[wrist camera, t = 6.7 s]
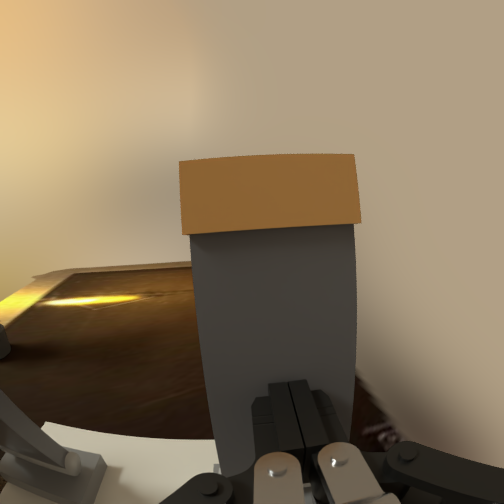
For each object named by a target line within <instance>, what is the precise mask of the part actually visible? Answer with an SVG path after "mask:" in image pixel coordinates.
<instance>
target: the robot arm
mask: <svg viewBox="0 0 504 504" xmlns="http://www.w3.org/2000/svg"><path fill="white" fill-rule="evenodd" d="M251 412H252V423H253V435H254V446H255V460H254V462H253V464H252V466H251V467H250V468H249V469H247V470H246V471H244V472H242V473H240V474H237V475H234V476H231V477H227V478H226V477H225V476H223V475H221V474H218V473H212V472H207V473H201V474H198V475H196V476H194V477H192V478H191V479H190V480H188V481H187V482H186V483H185V484H183V485H182V486H181V487H180V488H178V489H177V490H176V491H175V492H173V493H172V494H171V495H169V496H168V497H167V498H165V499H164V500H163V501H161V502H160V503H159V504H305V499H304V490H303V484H306V483H310V484H311V488H312V495H311V499H312V503H313V504H504V469H503V468H498V467H494V466H490V465H486V464H482V463H478V462H475V461H471V460H468V459H464V458H461V457H457V456H454V455H451V454H448V453H445V452H442V451H439V450H436V449H432V448H430V447H427V446H424V445H421V444H418V443H416V442H411V441H403V442H399V443H396V444H395V445H393V446H392V447H391V448H390V449H389V450H388V452H363V451H360V450H359V449H358V448H357V447H355V446H354V445H352V444H350V443H349V441H348V439H347V437H346V434H345V432H344V430H343V427H342V425H341V423H340V420H339V418H338V416H337V415H336V411H335V409H334V407H333V404H332V402H331V400H330V397H329V396H328V395H327V394H326V393H324V392H323V391H322V390H321V389H319V390H312V391H311V390H310V387H309V385H308V382H307V380H306V379H302V380H294V381H288V382H278V383H268V396H263V397H256V398H255V400H254V402H253V403H252V405H251Z"/></svg>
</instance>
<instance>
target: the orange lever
mask: <svg viewBox="0 0 504 504" xmlns="http://www.w3.org/2000/svg"><path fill="white" fill-rule="evenodd" d="M179 179H180V202H181V220H182V235H190V249H191V262H192V273H193V284H194V295H195V305H196V314H197V323H198V331H199V340H200V348H201V355H202V363H203V370H204V377H205V384H206V391H207V397H208V404H209V410H210V416H211V422H212V428H213V433H214V439H215V444H216V450H217V455H218V460H219V465H220V468H219V474H221V475H223V476H225V477H226V478H227V477H231V476H234V475H237V474H240V473H242V472H244V471H246V470H247V469H249V468H250V467H251V466H252V464H253V462H254V460H255V446H254V435H253V423H252V412H251V405H252V403H253V402H254V400H255V398H256V397H263V396H268V383H278V382H288V381H294V380H302V379H306V380H307V382H308V385H309V387H310V390H311V391H312V390H319V389H321V390H322V391H323V392H324V393H326V394H327V395H328V396H329V397H330V400H331V402H332V404H333V407H334V409H335V411H336V415H337V416H338V418H339V420H340V423H341V425H342V427H343V430H344V432H345V434H346V437H347V439H348V441H349V437H350V428H351V419H352V408H353V396H354V382H355V364H356V333H357V331H356V329H357V291H356V290H357V288H356V259H355V258H356V257H355V239H354V224H358V223H361V212H360V203H359V191H358V183H357V173H356V165H355V157H354V154H277V155H254V156H253V155H252V156H237V157H222V158H209V159H198V160H189V161H180V162H179ZM309 486H311V484H310V483H306V484H303V487H309Z"/></svg>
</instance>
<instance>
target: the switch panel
mask: <svg viewBox="0 0 504 504" xmlns="http://www.w3.org/2000/svg"><path fill="white" fill-rule="evenodd" d="M41 430H43V431H44V432H45V433H46V434H47V435H48V436H50V437H51V438H52V439H53V440H54V441H56V442H57V443H58V444H59V445H61V446H62V447H63V448H64V449H66V450H67V451H71V452H75V453H77V454H78V455H79V457H80V459H81V471H80V473H79V475H78V476H72V475H68V474H65V473H61V472H58V471H55V470H52V469H49V468H46V467H43V466H40V465H37V464H35V463H32V462H29V461H27V460H24V459H22V458H19V457H17V456H14V455H12V454H10V453H7V452H6V453H5V455H4V456H3V458H2V459H1V461H0V475H1V476H2V478H3V479H4V480H5V481H7V483H6V485H5V487H4V488H3V490H2V492H1V493H0V504H159V503H160V502H161V501H163V500H164V499H165V498H167V497H168V496H169V495H171V494H172V493H173V492H175V491H176V490H177V489H178V488H180V487H181V486H182V485H183V484H185V483H186V482H187V481H188V480H190V479H191V478H192V477H194V476H196V475H198V474H201V473H207V472H212V473H218V474H219V468H220V465H219V460H218V455H217V450H216V444H215V440H173V439H155V438H142V437H131V436H122V435H114V434H107V433H100V432H94V431H88V430H83V429H77V428H72V427H68V426H63V425H59V424H54V423H50V422H45V424H44V425H43V427H42V428H41ZM303 490H304V499H305V504H313V503H312V499H311V495H312V488H311V486H309V487H303Z"/></svg>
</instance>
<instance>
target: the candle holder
mask: <svg viewBox="0 0 504 504" xmlns="http://www.w3.org/2000/svg"><path fill="white" fill-rule="evenodd" d="M10 351H11V346H10V344H9V341H8V338H7V335H6V332H5V329H4V326H3V325H1V324H0V359H2V358H4V357H5V356H6V355H8V354H9V353H10Z"/></svg>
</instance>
